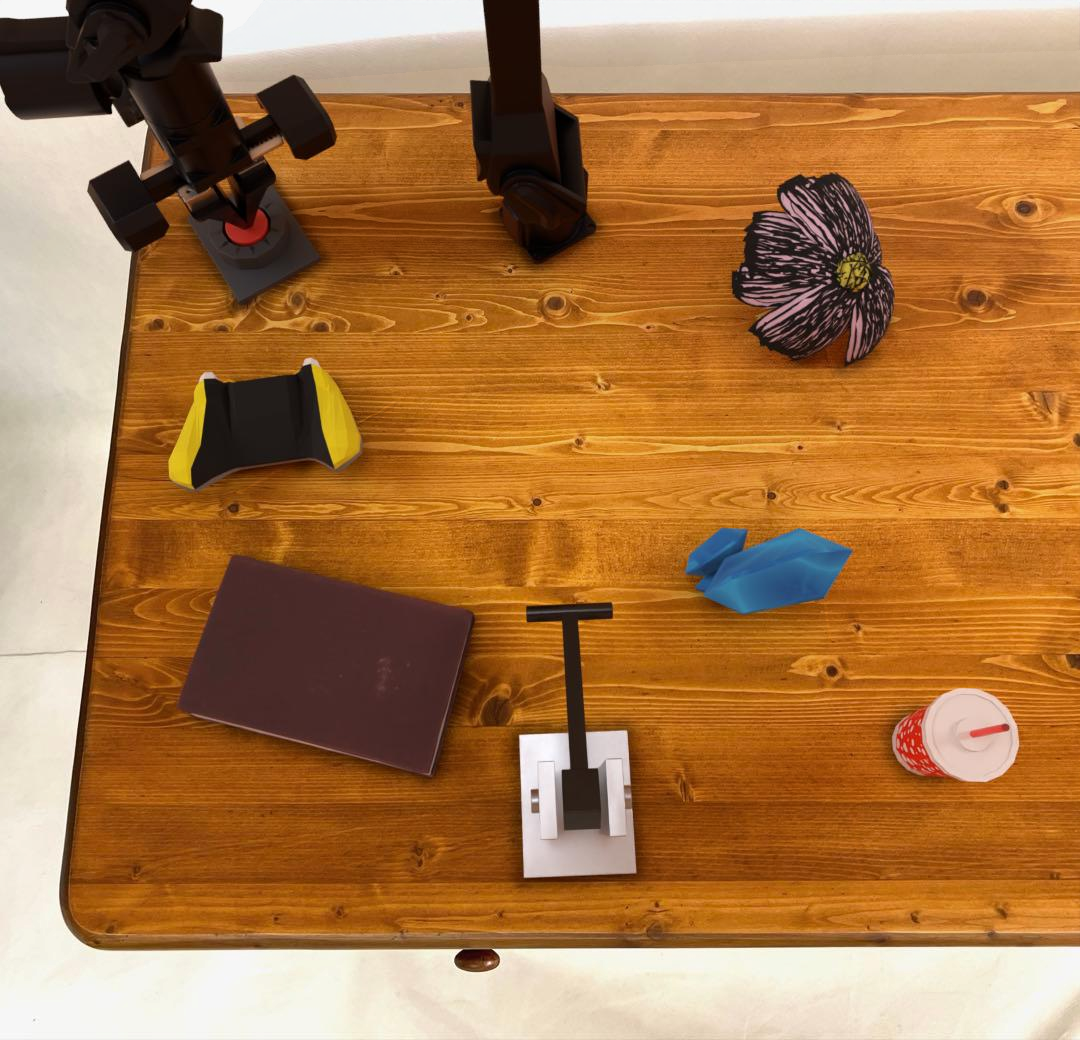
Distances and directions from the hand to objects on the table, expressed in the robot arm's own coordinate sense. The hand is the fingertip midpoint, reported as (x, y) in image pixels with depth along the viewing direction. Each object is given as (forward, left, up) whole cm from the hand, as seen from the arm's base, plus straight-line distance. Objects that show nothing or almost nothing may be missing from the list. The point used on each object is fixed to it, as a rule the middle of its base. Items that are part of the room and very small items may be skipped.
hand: (246, 224), depth 84 cm
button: (0, 0, -2) cm, 2 cm away
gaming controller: (+7, +18, -3) cm, 19 cm away
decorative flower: (-37, +32, -3) cm, 48 cm away
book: (+12, +37, -3) cm, 39 cm away
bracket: (+2, +55, -3) cm, 55 cm away
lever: (0, +50, +7) cm, 51 cm away
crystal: (-19, +49, -3) cm, 52 cm away
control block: (0, 0, -3) cm, 3 cm away
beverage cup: (-22, +66, -3) cm, 69 cm away
